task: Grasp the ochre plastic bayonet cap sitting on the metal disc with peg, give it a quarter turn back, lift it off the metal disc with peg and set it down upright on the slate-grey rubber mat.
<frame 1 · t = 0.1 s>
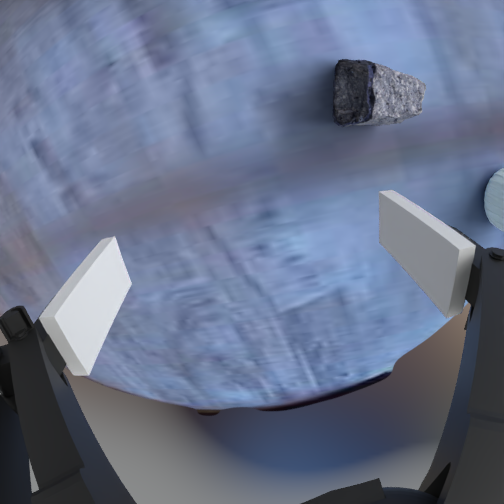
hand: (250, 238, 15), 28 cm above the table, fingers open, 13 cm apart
stone: (361, 95, 37), on the table
vase: (496, 193, 44), on the table
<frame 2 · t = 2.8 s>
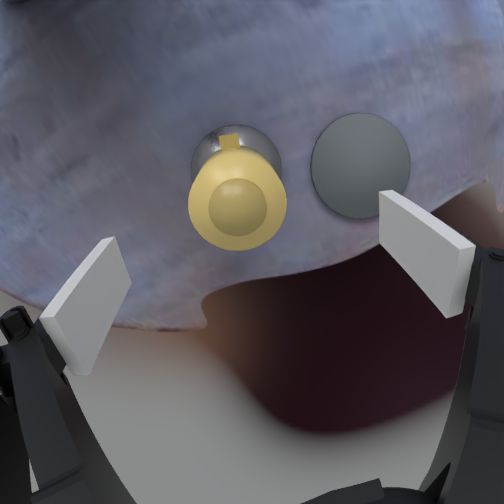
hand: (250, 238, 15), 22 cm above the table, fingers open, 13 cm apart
rubber mat: (362, 166, 35), on the table
bayonet cap: (236, 182, 28), point 7 cm above the table, touching metal disc with peg
metal disc with peg: (236, 168, 35), on the table
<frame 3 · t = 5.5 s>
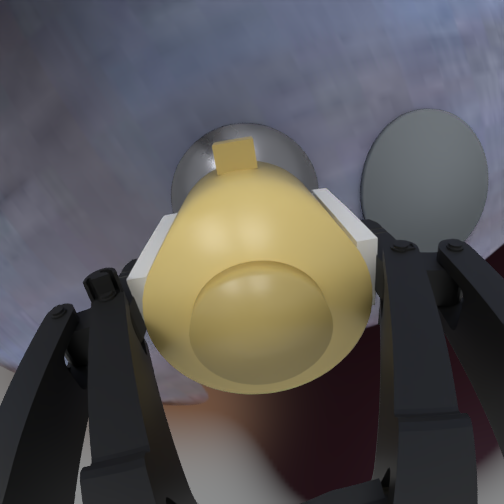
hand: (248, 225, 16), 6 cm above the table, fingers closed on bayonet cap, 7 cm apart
rubber mat: (430, 187, 22), on the table
bayonet cap: (249, 231, 15), point 7 cm above the table, touching gripper, metal disc with peg
metal disc with peg: (244, 193, 22), on the table
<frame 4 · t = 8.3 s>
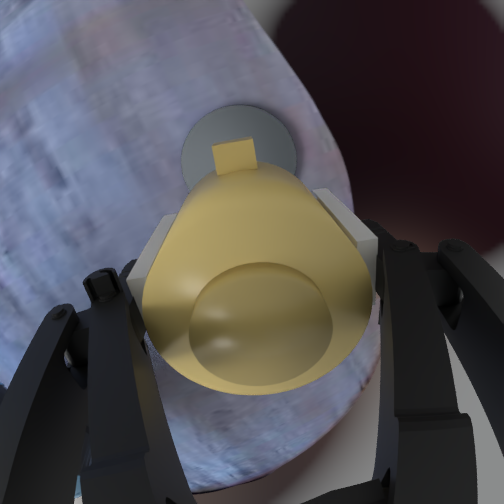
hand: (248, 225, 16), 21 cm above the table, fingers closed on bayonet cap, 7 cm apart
rubber mat: (238, 161, 35), on the table
bayonet cap: (249, 232, 15), point 22 cm above the table, touching gripper
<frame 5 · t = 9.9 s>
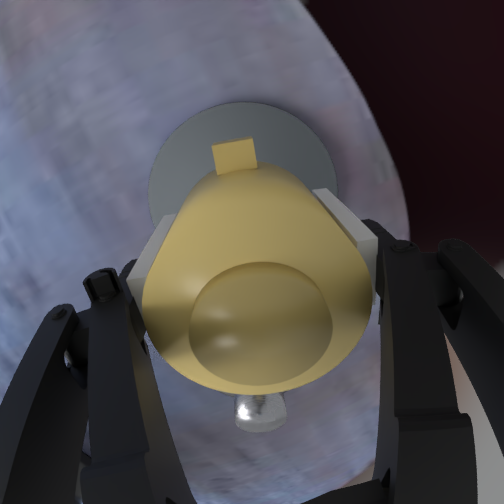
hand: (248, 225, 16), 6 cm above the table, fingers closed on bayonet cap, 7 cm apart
rubber mat: (243, 196, 22), on the table
bayonet cap: (249, 231, 15), point 7 cm above the table, touching gripper
metal disc with peg: (255, 357, 28), on the table
when the fingers open (2 cm above the table, at t = 11.3 s): bayonet cap drops 2 cm, resting on rubber mat.
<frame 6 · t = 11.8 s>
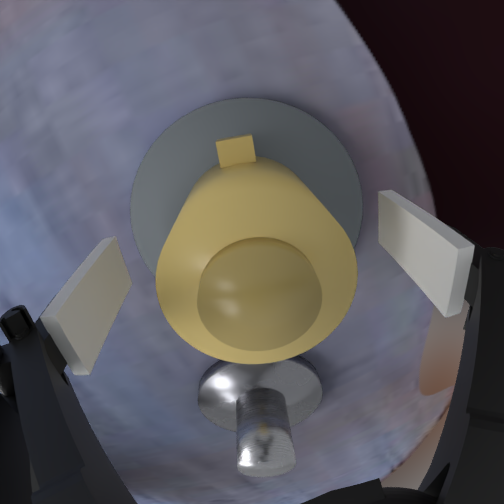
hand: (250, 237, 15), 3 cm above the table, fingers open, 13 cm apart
rubber mat: (247, 215, 18), on the table
bayonet cap: (249, 220, 17), point 1 cm above the table, touching rubber mat
metal disc with peg: (259, 392, 24), on the table
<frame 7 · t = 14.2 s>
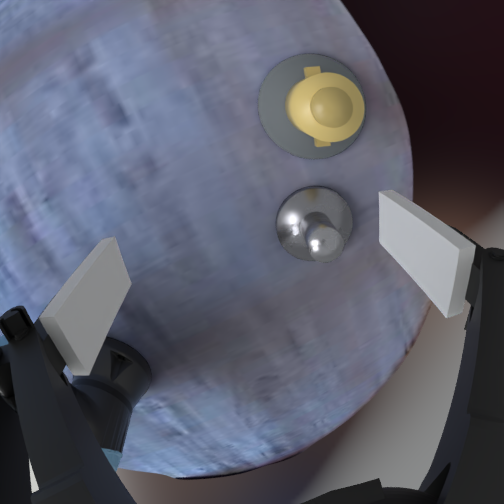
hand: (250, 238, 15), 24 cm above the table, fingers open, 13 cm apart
rubber mat: (312, 106, 34), on the table
bayonet cap: (314, 106, 33), point 1 cm above the table, touching rubber mat
metal disc with peg: (313, 222, 41), on the table
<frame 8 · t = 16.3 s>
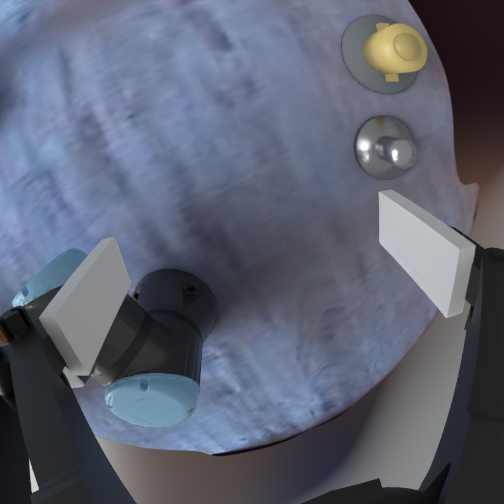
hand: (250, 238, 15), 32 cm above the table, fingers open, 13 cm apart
rubber mat: (380, 54, 37), on the table
bayonet cap: (383, 53, 36), point 1 cm above the table, touching rubber mat
mug: (4, 340, 58), on the table
metal disc with peg: (383, 147, 44), on the table
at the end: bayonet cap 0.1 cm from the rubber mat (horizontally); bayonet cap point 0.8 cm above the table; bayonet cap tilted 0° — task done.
